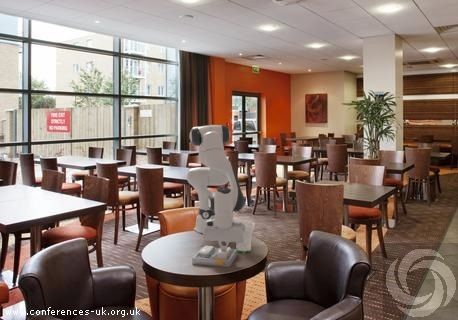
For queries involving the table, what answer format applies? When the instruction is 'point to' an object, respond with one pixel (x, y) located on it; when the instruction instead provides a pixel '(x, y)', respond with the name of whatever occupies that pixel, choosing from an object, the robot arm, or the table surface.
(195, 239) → the table surface
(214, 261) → the tray
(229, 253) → the white rectangular block
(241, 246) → the cup
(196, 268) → the table surface
